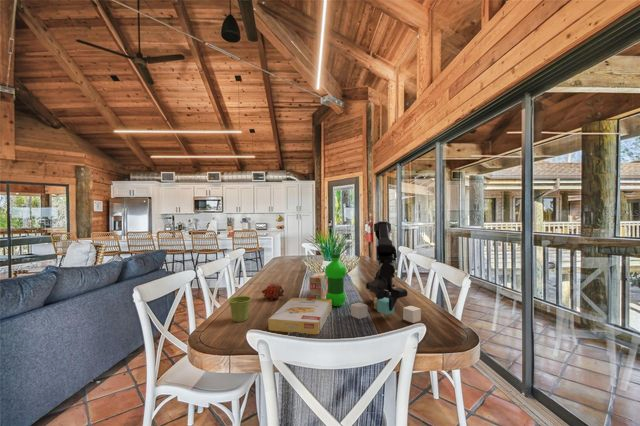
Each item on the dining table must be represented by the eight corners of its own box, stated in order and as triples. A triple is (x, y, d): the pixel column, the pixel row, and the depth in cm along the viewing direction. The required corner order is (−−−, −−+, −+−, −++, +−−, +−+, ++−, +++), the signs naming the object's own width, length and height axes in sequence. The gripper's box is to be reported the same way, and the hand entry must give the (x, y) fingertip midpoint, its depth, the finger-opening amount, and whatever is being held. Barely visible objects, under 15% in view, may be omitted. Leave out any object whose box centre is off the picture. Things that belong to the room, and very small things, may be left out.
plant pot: (230, 325, 114) (230, 303, 114) (226, 318, 123) (226, 297, 123) (253, 321, 118) (253, 300, 119) (248, 314, 127) (248, 294, 127)
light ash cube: (374, 308, 134) (374, 298, 134) (381, 306, 137) (381, 296, 137) (381, 311, 130) (381, 300, 130) (389, 309, 132) (389, 298, 132)
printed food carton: (321, 289, 168) (321, 269, 168) (331, 290, 166) (331, 269, 166) (309, 300, 147) (309, 276, 147) (321, 301, 145) (321, 277, 145)
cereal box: (332, 298, 132) (318, 320, 105) (332, 310, 132) (319, 335, 105) (290, 296, 137) (267, 317, 109) (290, 308, 136) (267, 332, 109)
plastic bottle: (331, 300, 146) (331, 252, 146) (350, 303, 141) (349, 253, 141) (321, 306, 138) (321, 254, 138) (340, 309, 132) (340, 255, 132)
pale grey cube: (351, 315, 125) (351, 304, 125) (359, 313, 127) (359, 302, 127) (358, 319, 120) (358, 307, 120) (367, 316, 123) (367, 305, 123)
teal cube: (377, 311, 122) (377, 299, 122) (385, 309, 125) (385, 297, 125) (386, 314, 118) (386, 302, 118) (394, 312, 121) (394, 300, 121)
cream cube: (403, 319, 120) (403, 307, 120) (410, 317, 123) (410, 305, 123) (413, 323, 116) (413, 311, 116) (420, 320, 118) (420, 308, 118)
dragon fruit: (285, 302, 148) (263, 305, 149) (286, 289, 155) (265, 292, 156) (281, 292, 144) (258, 295, 145) (282, 279, 151) (260, 282, 152)
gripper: (356, 271, 125) (357, 306, 125) (389, 279, 110) (389, 319, 109) (375, 268, 131) (375, 302, 131) (408, 275, 116) (408, 313, 116)
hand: (385, 308), depth 122 cm, fingers closed on teal cube, 5 cm apart
